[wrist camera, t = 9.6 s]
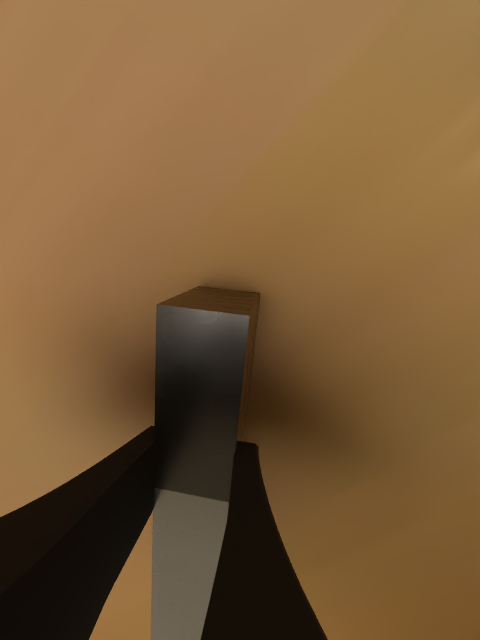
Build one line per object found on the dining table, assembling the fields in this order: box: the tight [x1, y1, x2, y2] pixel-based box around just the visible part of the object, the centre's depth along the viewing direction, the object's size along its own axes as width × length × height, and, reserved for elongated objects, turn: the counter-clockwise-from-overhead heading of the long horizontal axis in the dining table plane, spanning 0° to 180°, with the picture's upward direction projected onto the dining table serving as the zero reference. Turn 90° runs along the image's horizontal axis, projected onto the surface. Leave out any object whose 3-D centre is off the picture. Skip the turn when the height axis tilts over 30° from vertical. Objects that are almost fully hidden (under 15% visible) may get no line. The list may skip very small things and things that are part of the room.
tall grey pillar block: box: [151, 286, 260, 640], centre depth 11 cm, size 14×2×4 cm, turn 175°
